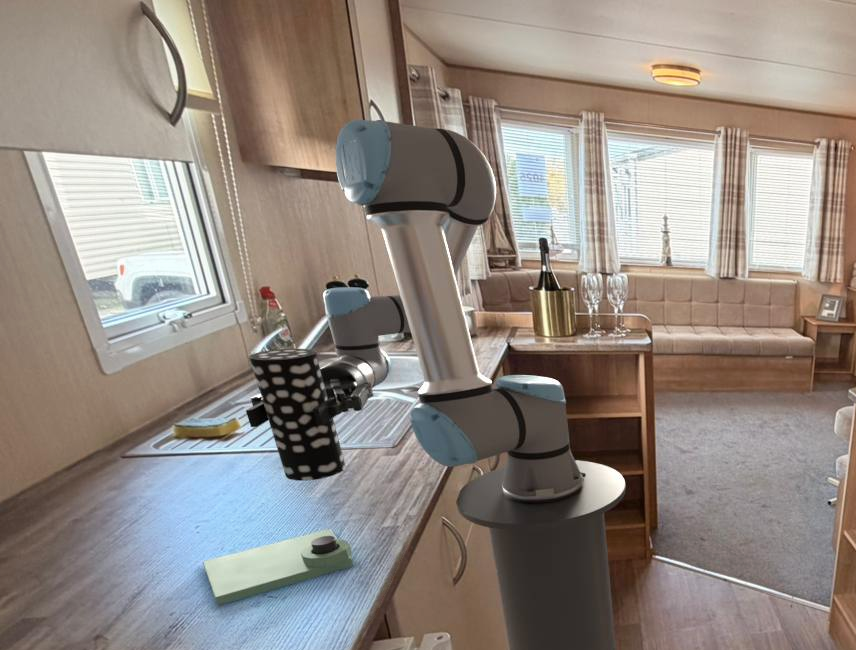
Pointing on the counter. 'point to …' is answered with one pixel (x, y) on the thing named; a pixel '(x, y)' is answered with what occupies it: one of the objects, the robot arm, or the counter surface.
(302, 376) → the white-spotted black cylinder
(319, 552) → the button
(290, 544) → the scale
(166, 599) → the counter surface
